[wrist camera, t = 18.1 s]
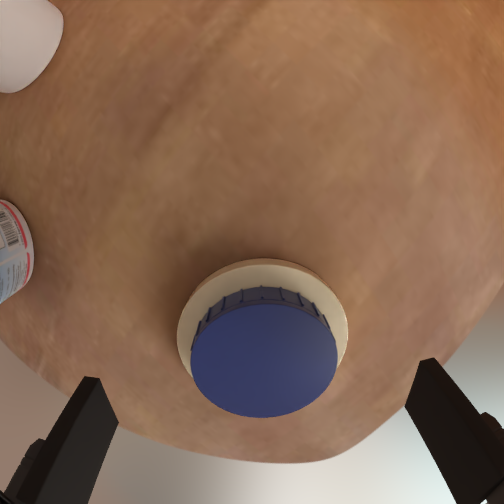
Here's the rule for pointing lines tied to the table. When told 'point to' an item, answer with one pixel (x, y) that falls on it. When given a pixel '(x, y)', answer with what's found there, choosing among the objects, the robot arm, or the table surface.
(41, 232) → the table surface
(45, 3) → the mug
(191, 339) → the disc
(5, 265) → the pill bottle
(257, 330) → the jar lid
